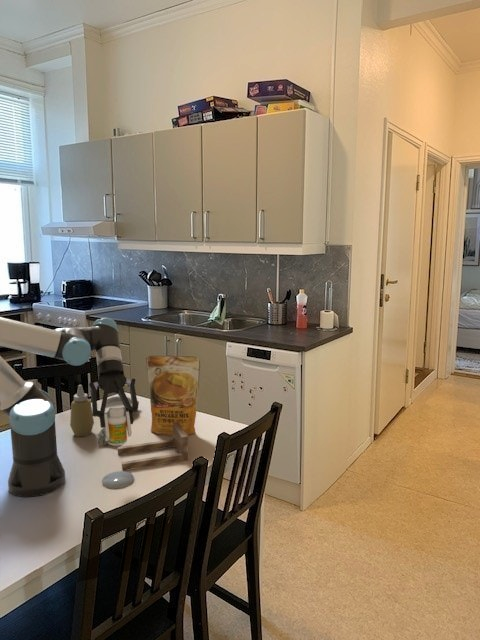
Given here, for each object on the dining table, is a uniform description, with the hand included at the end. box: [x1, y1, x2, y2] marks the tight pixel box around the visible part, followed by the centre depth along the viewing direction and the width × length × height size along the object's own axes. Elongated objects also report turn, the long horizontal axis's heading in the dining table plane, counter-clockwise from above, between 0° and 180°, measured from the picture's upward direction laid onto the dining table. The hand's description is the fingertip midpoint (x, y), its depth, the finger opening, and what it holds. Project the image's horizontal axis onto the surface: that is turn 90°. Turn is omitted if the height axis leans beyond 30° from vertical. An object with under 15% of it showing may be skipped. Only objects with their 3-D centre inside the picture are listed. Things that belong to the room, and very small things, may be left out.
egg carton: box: [96, 428, 114, 447], centre depth 171 cm, size 11×8×4 cm
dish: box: [104, 395, 140, 418], centre depth 195 cm, size 14×14×5 cm
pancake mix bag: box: [145, 355, 201, 436], centre depth 176 cm, size 7×19×28 cm, turn 85°
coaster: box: [101, 470, 135, 490], centre depth 143 cm, size 9×9×1 cm
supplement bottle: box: [107, 408, 128, 446], centre depth 141 cm, size 5×5×10 cm
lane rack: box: [117, 422, 189, 471], centre depth 158 cm, size 20×12×8 cm, turn 110°
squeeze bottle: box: [69, 384, 95, 437], centre depth 174 cm, size 8×8×18 cm
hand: (118, 436), depth 138 cm, fingers closed on supplement bottle, 5 cm apart
